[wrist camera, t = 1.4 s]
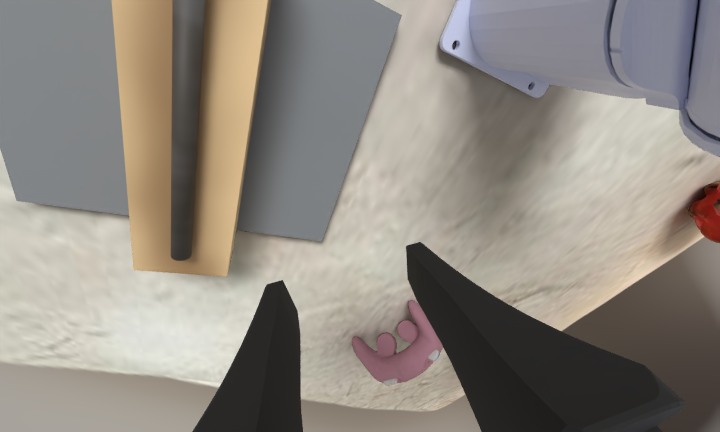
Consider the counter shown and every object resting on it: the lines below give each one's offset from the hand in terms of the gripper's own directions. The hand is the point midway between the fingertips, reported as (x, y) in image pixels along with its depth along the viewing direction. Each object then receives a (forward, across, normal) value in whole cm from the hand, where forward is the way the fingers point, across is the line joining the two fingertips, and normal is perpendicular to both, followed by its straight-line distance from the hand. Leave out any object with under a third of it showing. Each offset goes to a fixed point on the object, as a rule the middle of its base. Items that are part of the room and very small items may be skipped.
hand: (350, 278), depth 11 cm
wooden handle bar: (+10, +5, -6) cm, 13 cm away
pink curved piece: (+11, -4, +22) cm, 25 cm away
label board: (+10, +5, -6) cm, 13 cm away
